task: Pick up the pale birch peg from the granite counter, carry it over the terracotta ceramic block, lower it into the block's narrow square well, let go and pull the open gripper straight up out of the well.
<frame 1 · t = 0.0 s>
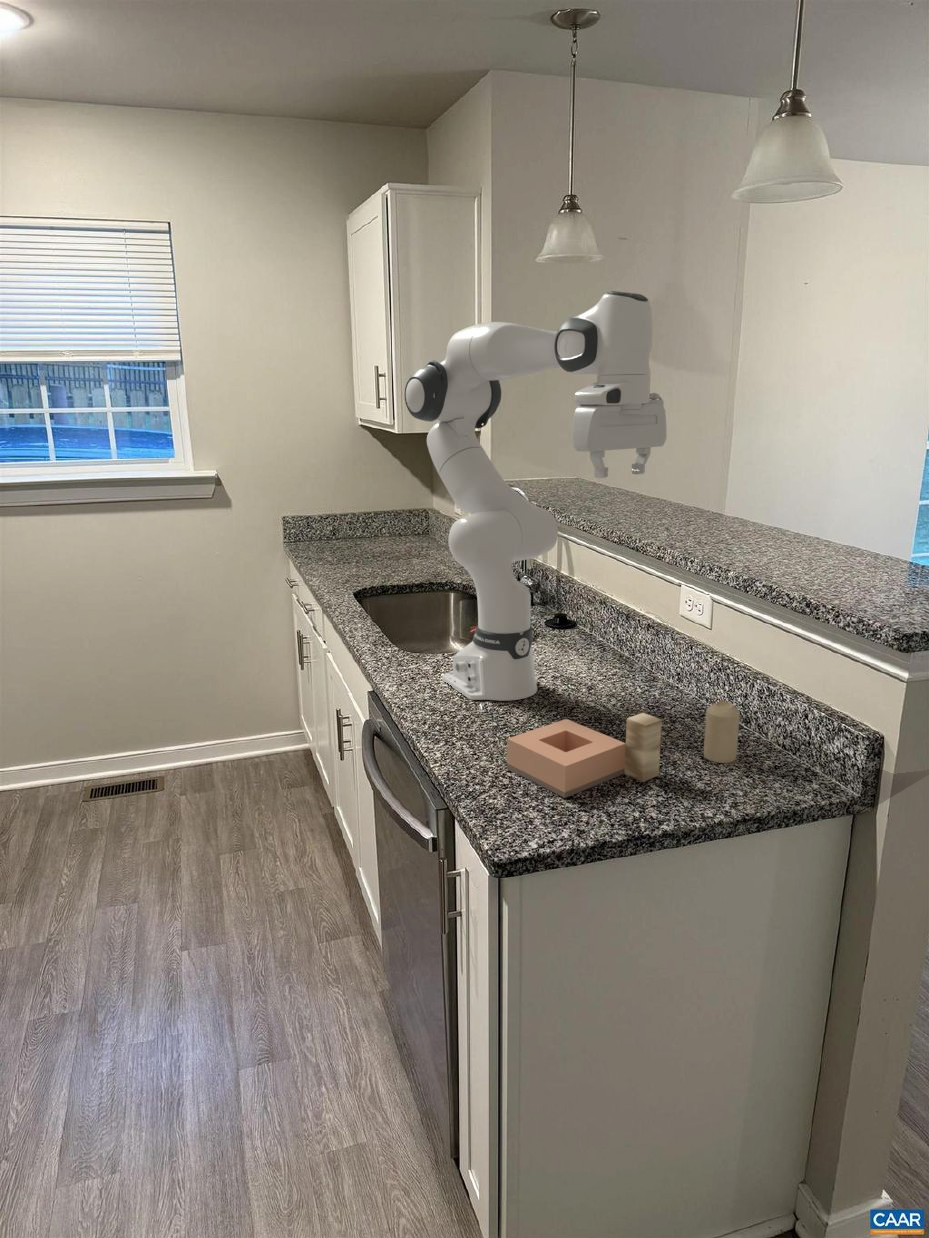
hand: (619, 476, 145), 48 cm above the worktop, tool pointing down, fingers open, 8 cm apart
candle: (719, 757, 147), on the worktop
well block: (565, 770, 142), on the worktop
peg: (641, 774, 141), on the worktop
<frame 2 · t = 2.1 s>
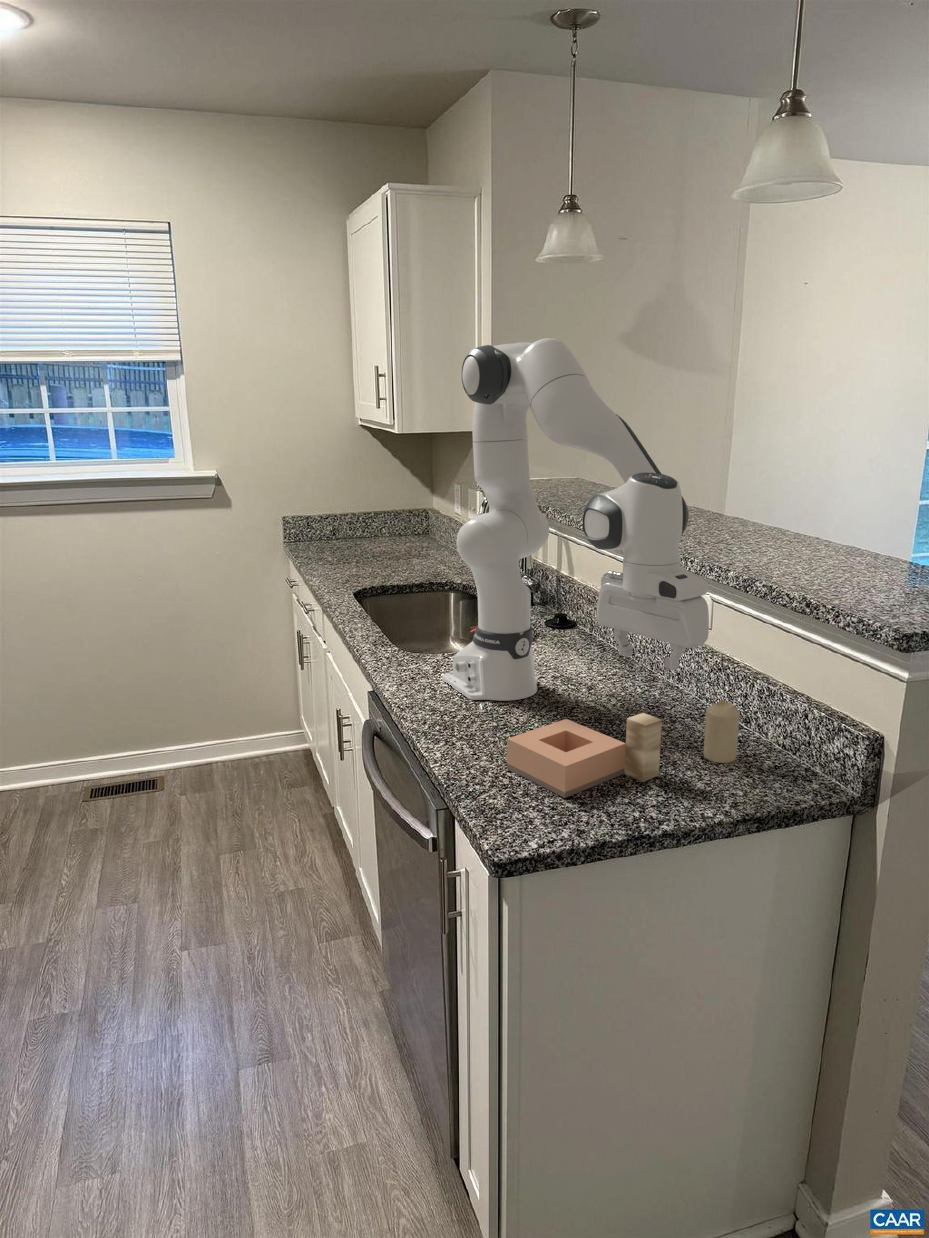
hand: (647, 662, 136), 20 cm above the worktop, tool pointing down, fingers open, 8 cm apart
nothing on the worktop moved.
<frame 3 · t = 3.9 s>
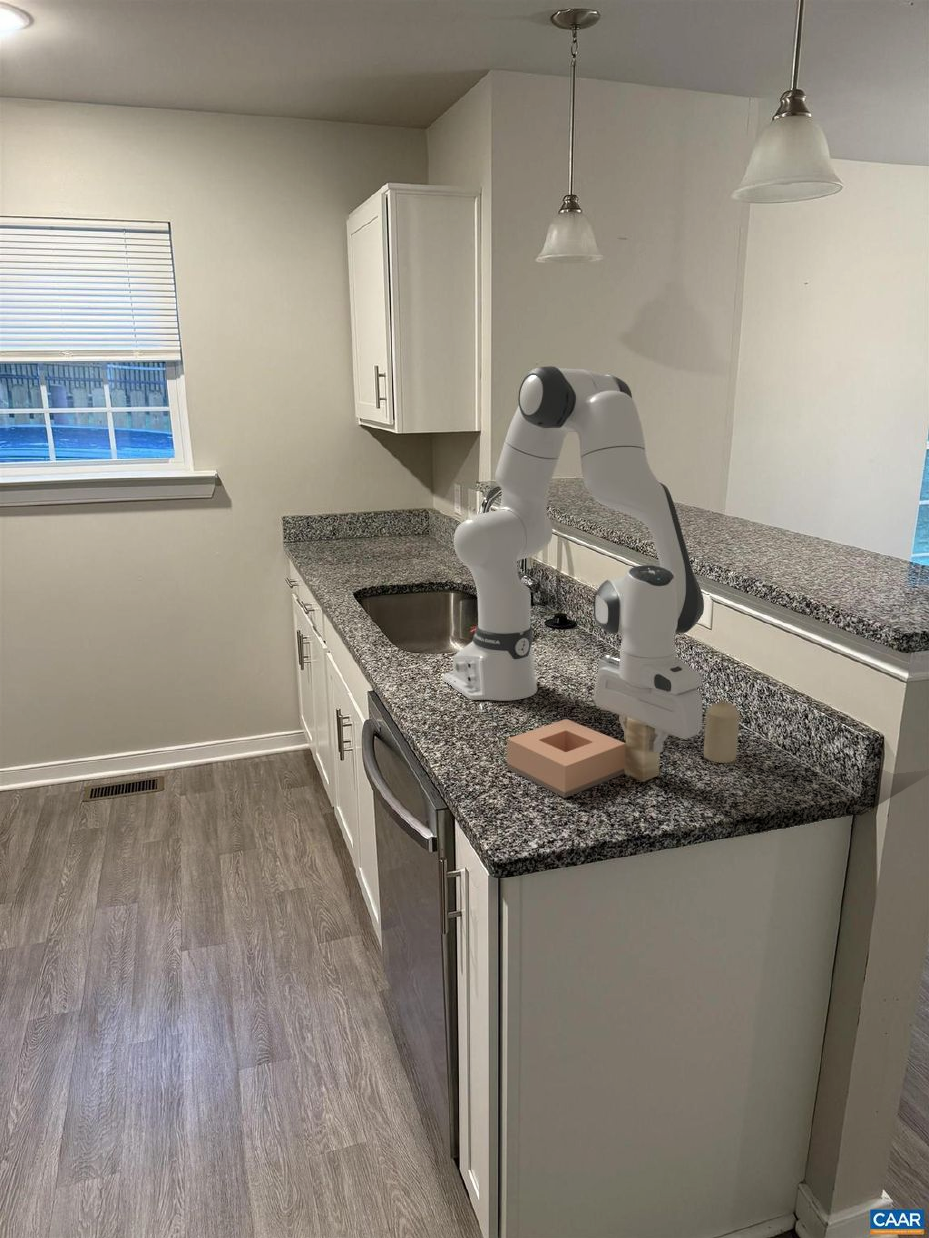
hand: (643, 746, 140), 5 cm above the worktop, tool pointing down, fingers closed on peg, 4 cm apart
peg: (641, 774, 141), on the worktop, touching gripper
everything else where it was.
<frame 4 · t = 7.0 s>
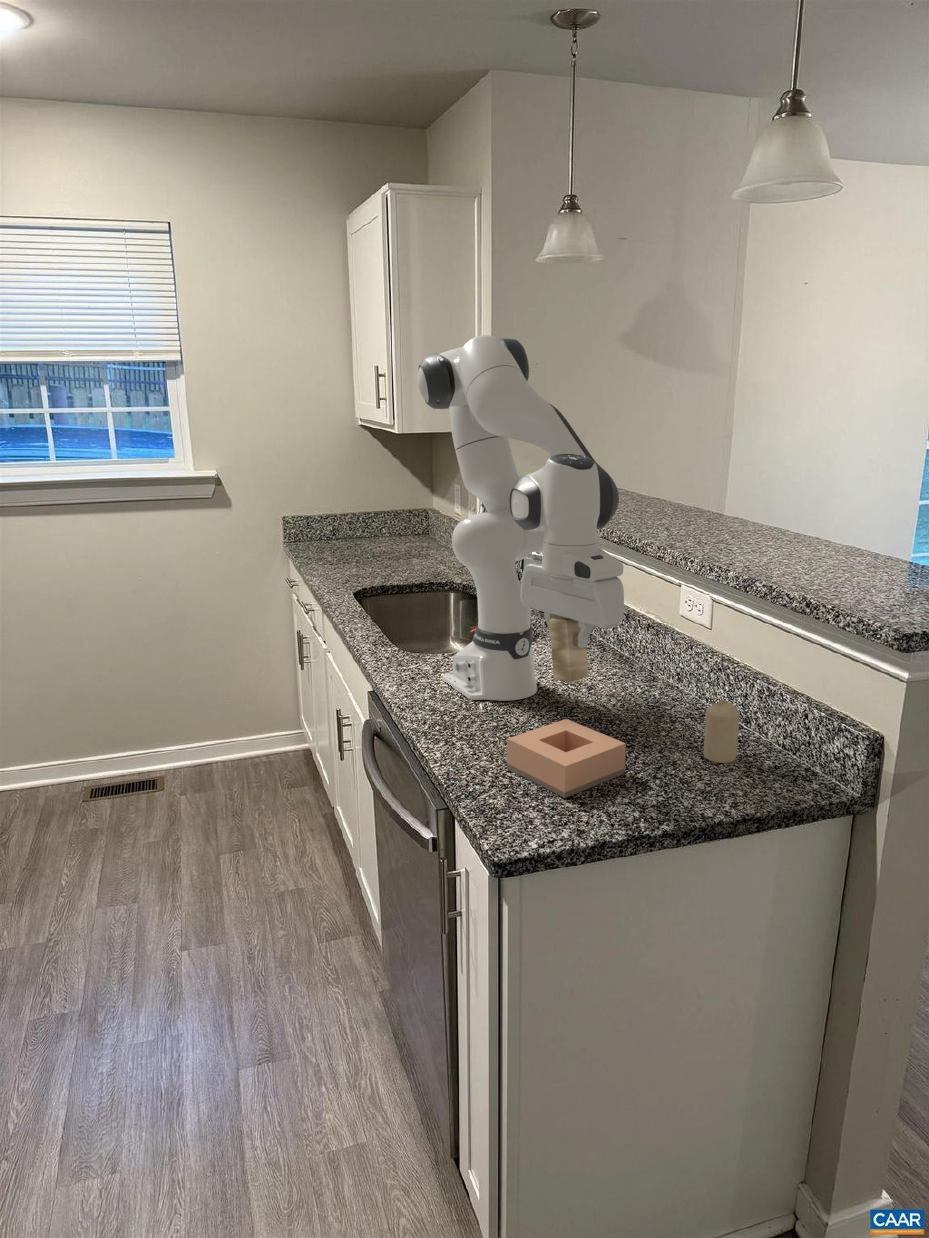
hand: (568, 642, 137), 23 cm above the worktop, tool pointing down, fingers closed on peg, 4 cm apart
peg: (571, 677, 137), point 17 cm above the worktop, tilted 7°, touching gripper
everything else where it was.
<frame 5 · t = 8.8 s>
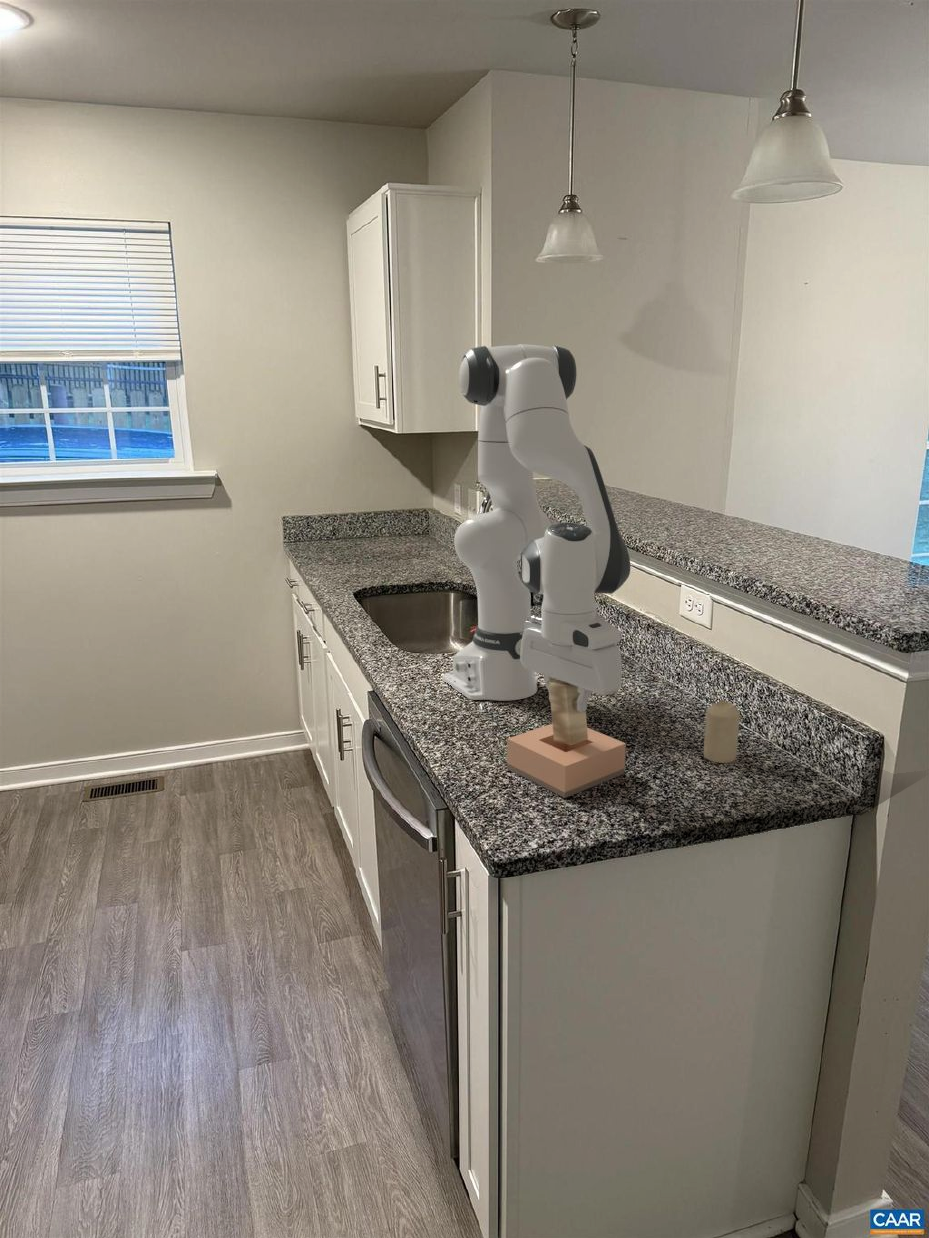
hand: (567, 705, 139), 12 cm above the worktop, tool pointing down, fingers closed on peg, 4 cm apart
peg: (570, 739, 140), point 6 cm above the worktop, tilted 8°, touching gripper
everything else where it was.
when the fingers open (8 cm above the worktop, at t = 10.1 s): peg stays where it is, resting on well block.
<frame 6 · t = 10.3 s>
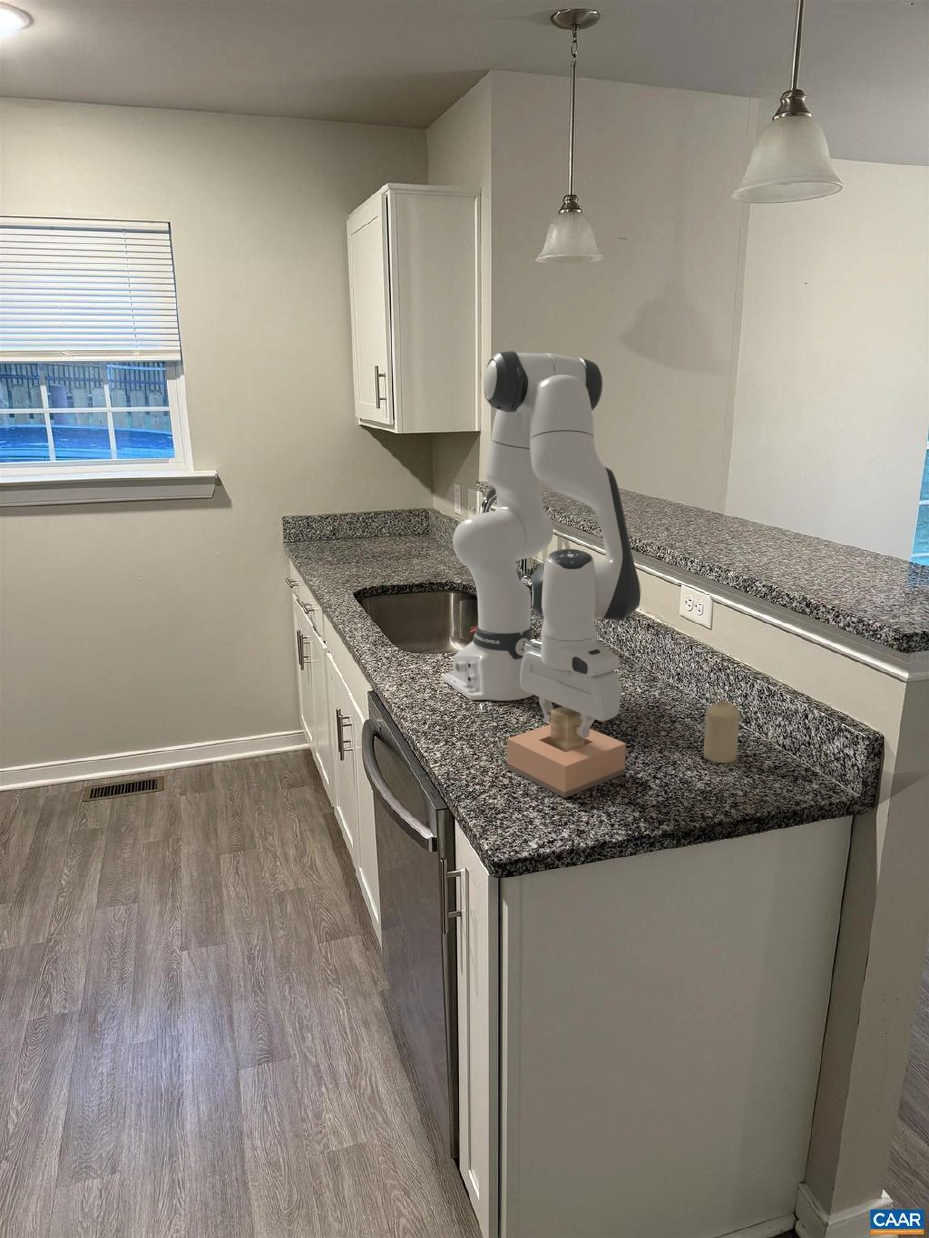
hand: (566, 729, 141), 8 cm above the worktop, tool pointing down, fingers open, 6 cm apart
peg: (566, 765, 142), point 1 cm above the worktop, touching well block
everything else where it was.
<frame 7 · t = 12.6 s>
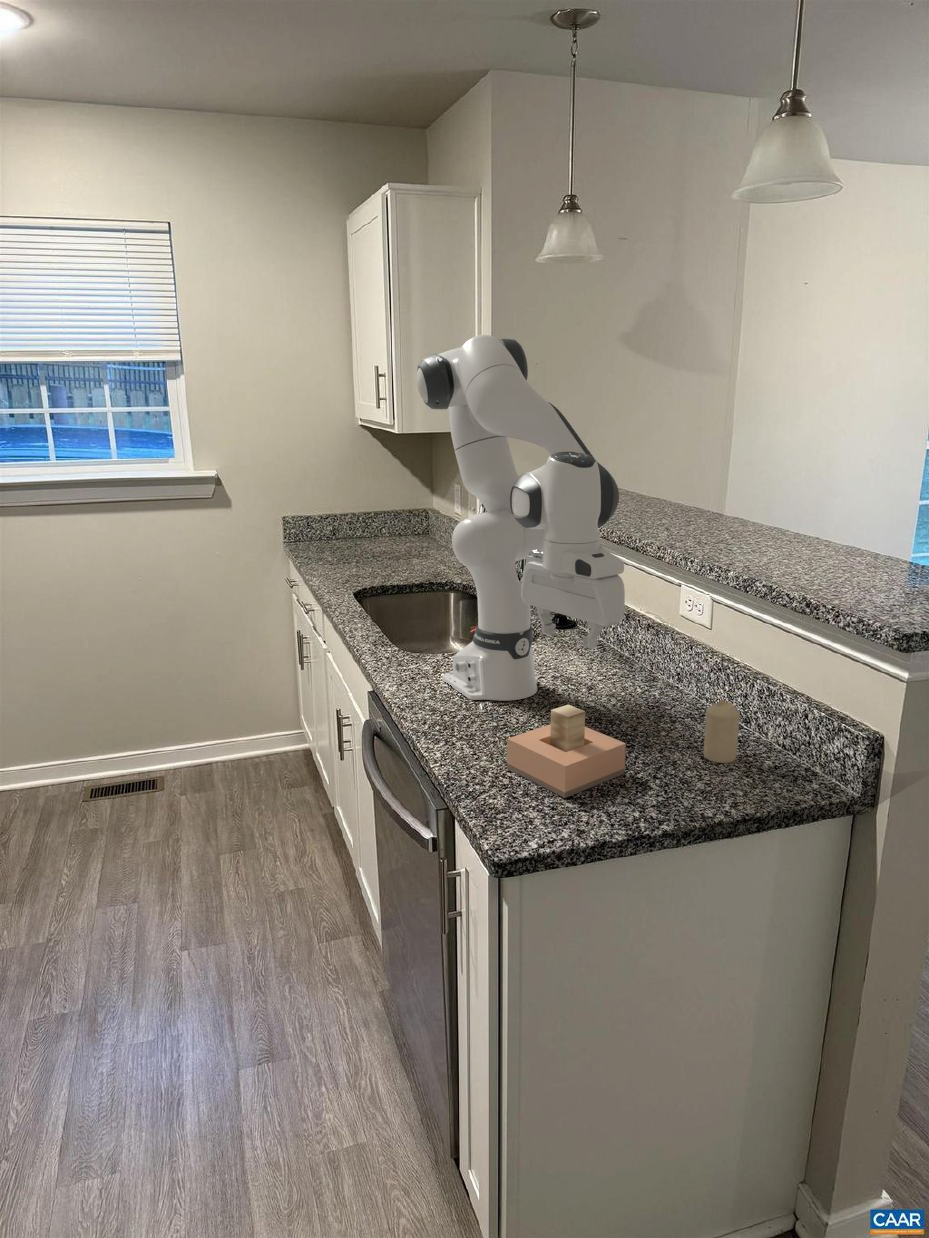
hand: (568, 640, 137), 23 cm above the worktop, tool pointing down, fingers open, 8 cm apart
nothing on the worktop moved.
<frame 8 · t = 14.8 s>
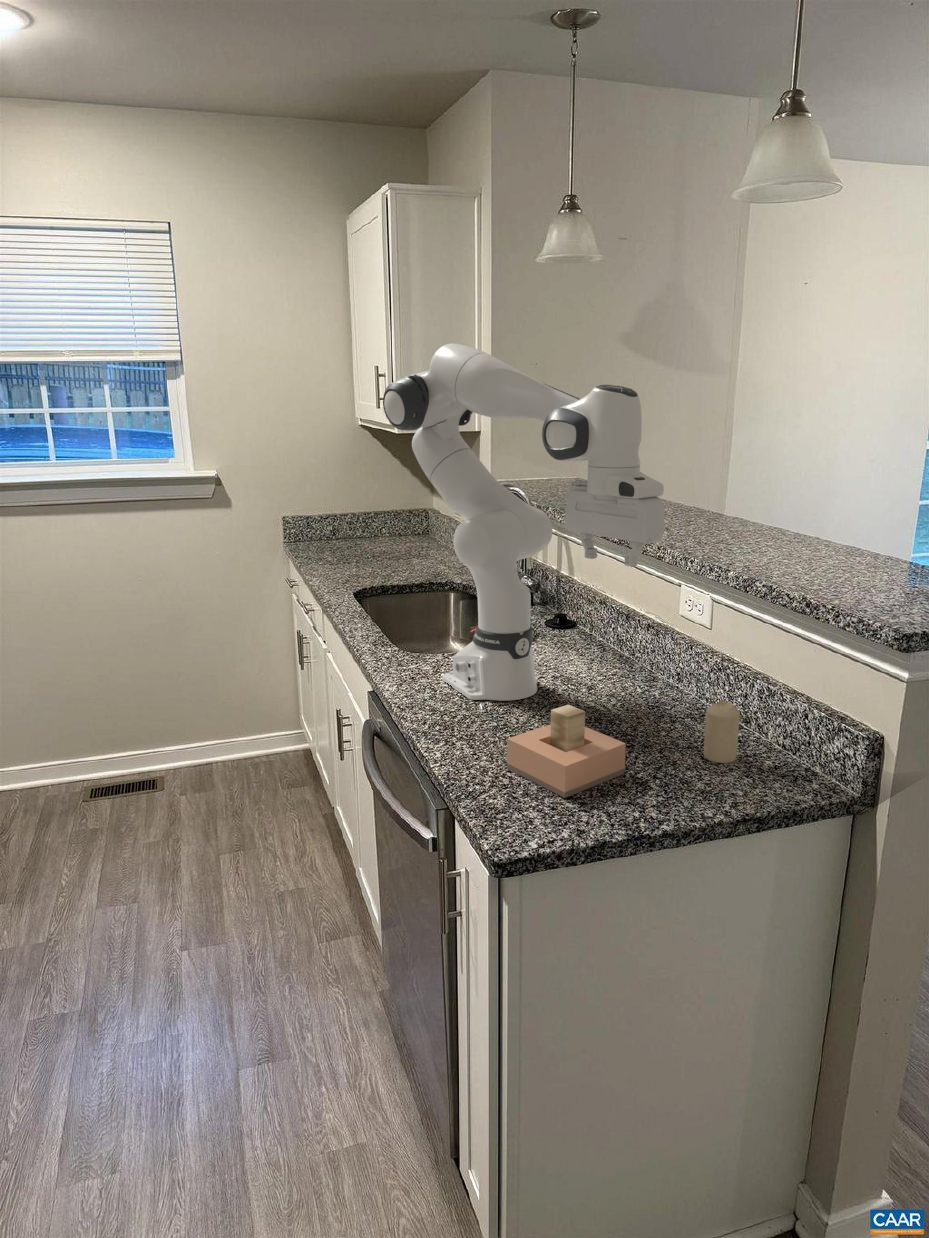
hand: (610, 562, 148), 33 cm above the worktop, tool pointing down, fingers open, 8 cm apart
nothing on the worktop moved.
at the end: peg 0.2 cm off-centre on the well block, point 1.0 cm above the well block's base; peg tilted 0°; the gripper is holding nothing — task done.
